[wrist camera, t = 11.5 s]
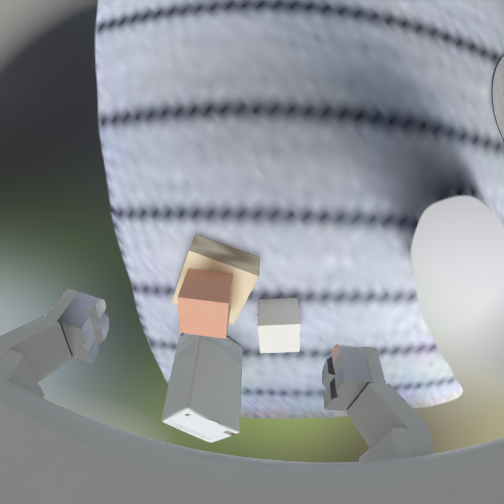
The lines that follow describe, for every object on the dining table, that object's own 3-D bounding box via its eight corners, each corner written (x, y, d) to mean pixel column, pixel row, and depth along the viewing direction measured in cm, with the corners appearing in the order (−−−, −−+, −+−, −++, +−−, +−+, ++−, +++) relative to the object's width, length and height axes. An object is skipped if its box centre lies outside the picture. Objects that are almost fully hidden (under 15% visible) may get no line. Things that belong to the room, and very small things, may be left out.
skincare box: (179, 335, 44) (155, 420, 31) (205, 317, 42) (184, 408, 29) (220, 363, 47) (208, 445, 34) (247, 347, 45) (240, 435, 32)
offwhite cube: (297, 297, 40) (300, 323, 35) (297, 324, 42) (299, 351, 38) (258, 298, 40) (257, 325, 36) (261, 326, 43) (260, 353, 38)
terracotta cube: (233, 273, 34) (228, 303, 29) (230, 308, 36) (226, 338, 32) (188, 268, 33) (177, 297, 29) (189, 302, 36) (179, 332, 32)
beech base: (259, 256, 37) (259, 276, 34) (236, 303, 41) (233, 324, 37) (196, 232, 36) (189, 250, 32) (179, 283, 40) (171, 302, 36)
